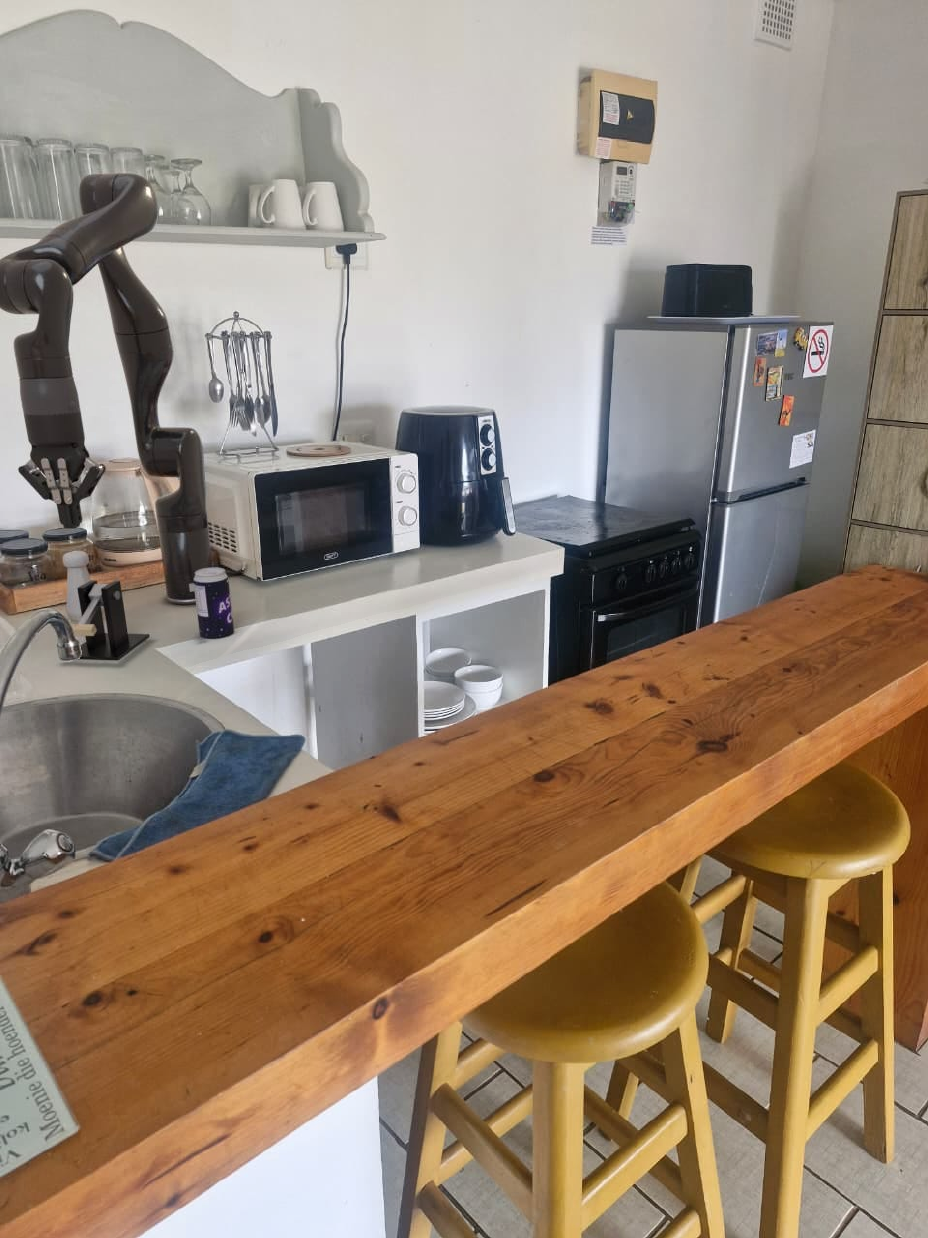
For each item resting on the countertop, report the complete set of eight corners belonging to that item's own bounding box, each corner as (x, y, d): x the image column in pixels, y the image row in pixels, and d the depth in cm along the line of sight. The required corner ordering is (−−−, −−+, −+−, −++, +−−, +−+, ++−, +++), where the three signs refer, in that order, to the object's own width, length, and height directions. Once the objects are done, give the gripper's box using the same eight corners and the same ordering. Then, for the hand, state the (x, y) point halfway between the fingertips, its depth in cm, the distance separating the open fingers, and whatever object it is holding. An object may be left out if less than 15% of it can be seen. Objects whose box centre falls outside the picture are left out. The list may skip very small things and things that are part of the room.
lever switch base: (119, 665, 138) (108, 595, 134) (65, 664, 139) (53, 593, 135) (150, 641, 149) (141, 575, 145) (100, 640, 150) (90, 574, 146)
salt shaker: (81, 628, 156) (69, 558, 151) (61, 623, 159) (49, 554, 154) (109, 619, 160) (98, 550, 156) (89, 614, 163) (78, 547, 159)
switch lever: (94, 638, 135) (89, 627, 133) (67, 637, 136) (61, 626, 134) (119, 594, 142) (114, 584, 141) (93, 594, 143) (88, 583, 141)
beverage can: (225, 644, 147) (217, 576, 143) (194, 643, 148) (186, 575, 144) (240, 633, 152) (233, 567, 148) (210, 631, 153) (202, 566, 149)
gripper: (108, 406, 127) (125, 522, 133) (24, 406, 129) (45, 521, 135) (81, 412, 120) (100, 534, 126) (-8, 412, 122) (16, 532, 128)
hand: (72, 527), depth 130 cm, fingers closed
